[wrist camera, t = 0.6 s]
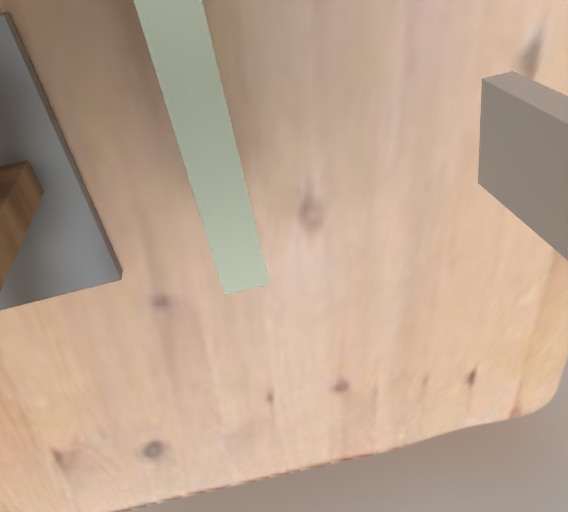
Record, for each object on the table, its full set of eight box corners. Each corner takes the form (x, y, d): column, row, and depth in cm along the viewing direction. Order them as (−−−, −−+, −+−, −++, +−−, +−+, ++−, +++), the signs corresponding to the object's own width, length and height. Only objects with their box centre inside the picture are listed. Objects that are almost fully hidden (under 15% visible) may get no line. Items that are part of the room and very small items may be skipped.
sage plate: (121, -117, 24) (90, -138, 14) (164, -126, 24) (164, -153, 14) (206, 178, 32) (224, 295, 22) (237, 170, 32) (270, 283, 22)
